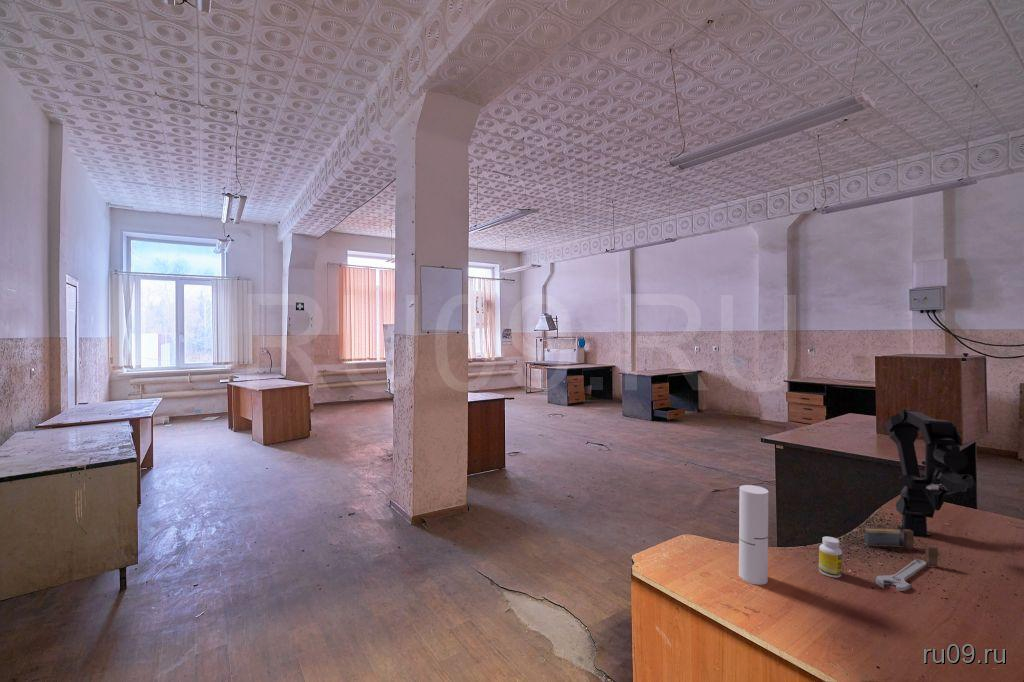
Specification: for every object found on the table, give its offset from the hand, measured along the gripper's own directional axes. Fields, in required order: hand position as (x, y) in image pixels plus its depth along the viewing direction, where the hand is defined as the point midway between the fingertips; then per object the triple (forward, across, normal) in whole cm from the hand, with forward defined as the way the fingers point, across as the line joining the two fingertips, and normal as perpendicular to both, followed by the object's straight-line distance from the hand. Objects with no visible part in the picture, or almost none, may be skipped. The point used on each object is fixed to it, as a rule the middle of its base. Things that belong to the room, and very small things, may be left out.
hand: (936, 510), depth 144 cm
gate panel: (+12, -14, +2) cm, 19 cm away
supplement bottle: (+13, -41, -16) cm, 46 cm away
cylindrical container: (+13, -64, -20) cm, 68 cm away
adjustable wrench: (+14, -20, -17) cm, 30 cm away
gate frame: (+13, -8, -4) cm, 16 cm away
